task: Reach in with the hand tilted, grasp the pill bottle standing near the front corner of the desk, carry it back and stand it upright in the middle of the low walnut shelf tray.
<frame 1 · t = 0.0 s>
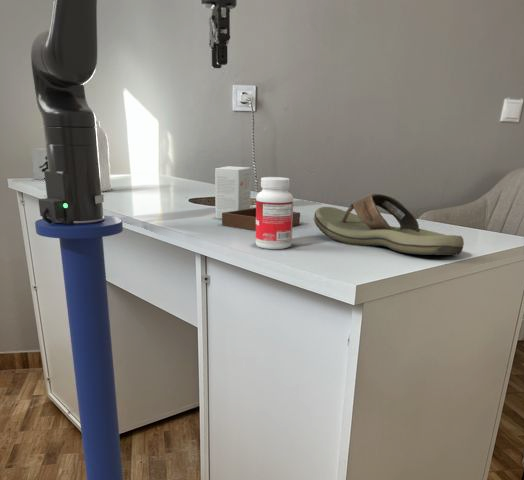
hand: (219, 66, 124), 31 cm above the table, tool pointing down, fingers open, 8 cm apart
small box: (233, 218, 124), on the table
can: (90, 190, 167), on the table
icon cube: (52, 178, 201), on the table
flip flop: (383, 246, 97), on the table
shelf tray: (261, 225, 114), on the table
pill bottle: (273, 247, 94), on the table
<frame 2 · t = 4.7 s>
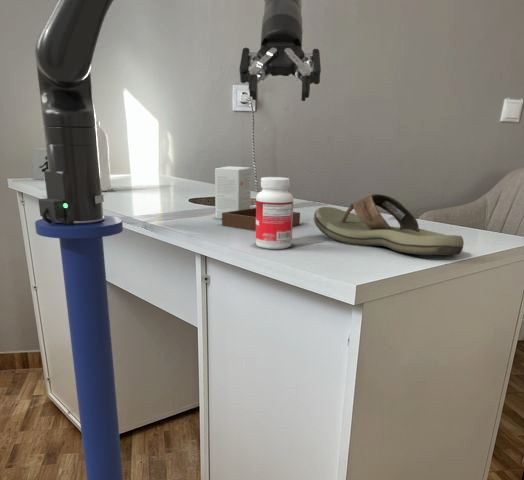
hand: (279, 96, 96), 24 cm above the table, tool tilted 45°, fingers open, 8 cm apart
nothing on the table moved.
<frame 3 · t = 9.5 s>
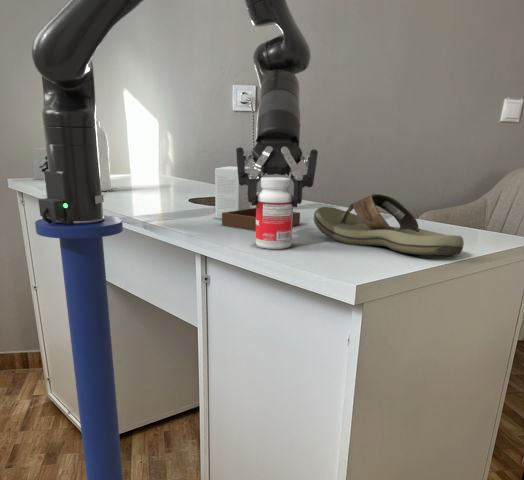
hand: (274, 203, 90), 7 cm above the table, tool tilted 45°, fingers closed on pill bottle, 6 cm apart
pill bottle: (273, 247, 94), on the table, touching gripper
everything else where it was.
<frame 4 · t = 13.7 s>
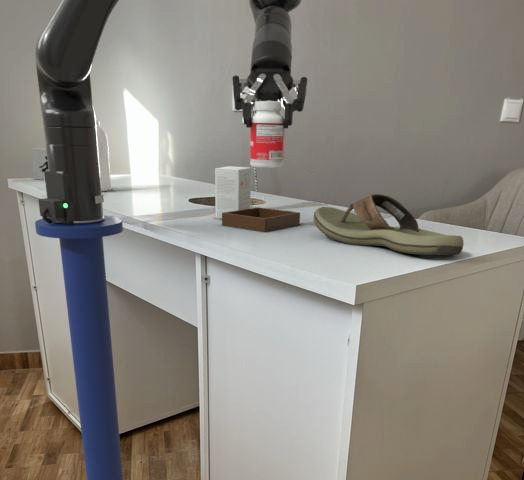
hand: (267, 124, 98), 19 cm above the table, tool tilted 45°, fingers closed on pill bottle, 6 cm apart
pill bottle: (266, 168, 103), point 12 cm above the table, touching gripper
everything else where it was.
when the fingers open (8 cm above the table, at t = 18.3 s): pill bottle stays where it is, resting on shelf tray.
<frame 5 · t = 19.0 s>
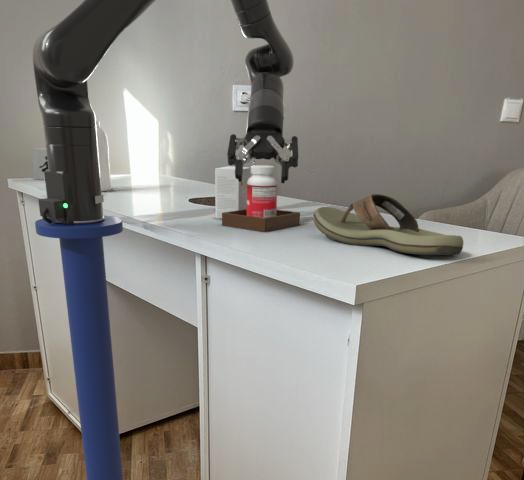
hand: (261, 179, 110), 9 cm above the table, tool tilted 45°, fingers open, 8 cm apart
pill bottle: (261, 223, 114), resting on shelf tray
everything else where it was.
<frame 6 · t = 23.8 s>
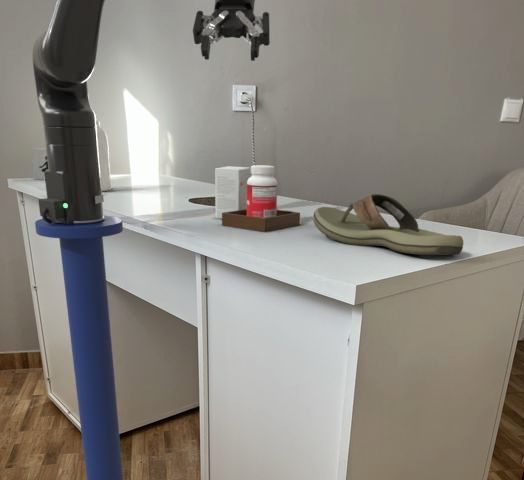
hand: (229, 56, 102), 31 cm above the table, tool tilted 45°, fingers open, 8 cm apart
nothing on the table moved.
at the end: pill bottle inside the target area in the shelf tray (0.2 cm from its centre), point 0.3 cm above the shelf tray's base; pill bottle tilted 0°; the gripper is holding nothing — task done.
